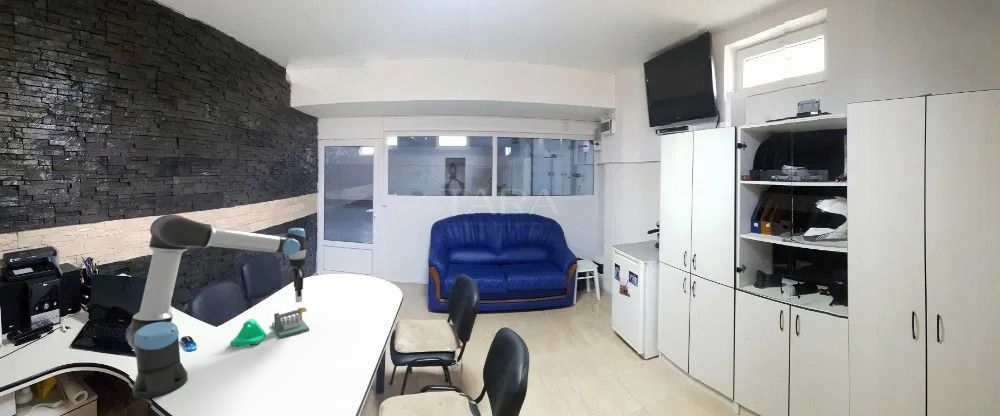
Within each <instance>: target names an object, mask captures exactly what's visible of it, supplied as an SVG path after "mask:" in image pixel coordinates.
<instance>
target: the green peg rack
mask: <svg viewBox="0 0 1000 416" xmlns="http://www.w3.org/2000/svg"><path fill="white" fill-rule="evenodd" d="M300 308H302V307H301V306H299V307H297V310H298V309H300ZM273 315H274V316H273V317H274V322H272V323H271V326H272V327H273V329H274V331H275V332H276V334H277V336H278V337H279V339H282V338H287V337H291V336H296V335H297V334H301V333H305V332H308V331H309V332H310V327H309V326H308V325H307V323H306V322H305V321H304V320H303V312H302V313H297V314H293V315H290V317H289V316H286V317H283V318H281V315H280V313H279V312H276V313H273ZM276 315H279V316H276ZM275 316H276V317H275Z"/></svg>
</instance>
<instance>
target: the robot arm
mask: <svg viewBox="0 0 1000 416" xmlns="http://www.w3.org/2000/svg"><path fill="white" fill-rule="evenodd" d="M149 227H150V228H149V233H150V235H151V236H150V241H149V245H148V247H149V249H150V250H152V256H151V260H150V266H149V269H148V273H147V279H146V283H145V285H144V291H143V295H142V300H141V304H140V308H139V312H136V313H135V314H134V315H132V318H131V323H130V324H129V326H128V327H127V330H126V332H125V341H126V342H127V343H128V345H129V346H130V347H131V349H132V350H133V351H134V353H135V357H136V358H135V359H136V367H137V375H136V378H135V381H134V384H133V387H132V396H133V397H134V398H135V399H140V400H141V399H143V400H145V399H152V398H157V397H160V396H163V395H166V394H167V395H168V394H169V393H171V392H173V391H176V390H178V389H179V388H181V387H183V386H184V385H185V384H186V383H187V382H188V379H189V377H188V376H189V375H188V371H187V370H186V369H185V366H184V365H183V363H182V361H181V353H180V342H179V341H180V340H179V339H180V338H179V335H180V334H179V333H180V332H179V329H178V326H177V324H175V323H174V322H172V321H173V317H174V315H173V313H172V312H171V311H170V307H171V303H172V298H173V295H174V289H175V285H176V281H177V276H178V271H179V266H180V263H181V258H182V254H183V253H184V252H187V250H188V249H189V248H201V249H206V248H207V247H216V248H217V247H218V248H226V249H238V250H246V251H247V250H249V251H257V252H267V253H277V254H284V255H288V258H289V259H288V262H289V267H292V270H291V271H292V278H293V287H294V292H295V294H294V295H295V297H294V298H295V299H294V300H295V303H302V302H303V289H304V276H305V274H304V268H303V266H305V265H306V264H307V259H306V253H307V252H308V250H306V230H305V229H304V228H302V227H294V228H292V227H291V228H289V229H288V230H287V233H281V234H280V233H279V234H265V233H264V234H263V233H255V232H247V231H240V230H234V229H227V228H220V227H214V226H213V225H212V224H207V223H202V222H199V221H195V220H193V219H189V218H187V217H184V216H182V215H178V214H165V215H161V216H159V217H157V218H156V219H155V220H153V221H152V223H151V225H150V226H149Z"/></svg>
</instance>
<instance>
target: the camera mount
mask: <svg viewBox="0 0 1000 416" xmlns="http://www.w3.org/2000/svg"><path fill="white" fill-rule="evenodd" d="M266 334H267V333H266V331H265V330H264V329H263V328H262V327H261V326H260V324H259V323H258V321H257V320H256V319H254V318H249V319H248V320H247V321H245V322H244V323H243V324H242V328H241V329H240V331H239V332H238V334H237V336H235V337H233V339H231V340H230V345H231V346H238V347H247V346H246V345H250V344H251V345H256V344H260V343H261V341H263V340H264V339H265V337H267V335H266ZM251 345H250V346H251Z"/></svg>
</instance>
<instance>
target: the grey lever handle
mask: <svg viewBox="0 0 1000 416" xmlns="http://www.w3.org/2000/svg"><path fill="white" fill-rule="evenodd" d="M299 308H300V307H299ZM305 312H308V311H307V307H301V308H300V309H298V308H297V309H295V310H291V311H287V312H284V313H281V314H280V313H279V315H281V319H282V318H283V317H284V318H286V316H288V317H289V316H290V315H293V316H294V314H297V315H298V313H302V314H303V313H305ZM279 315H276V316H279ZM276 316H275V317H276Z"/></svg>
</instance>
